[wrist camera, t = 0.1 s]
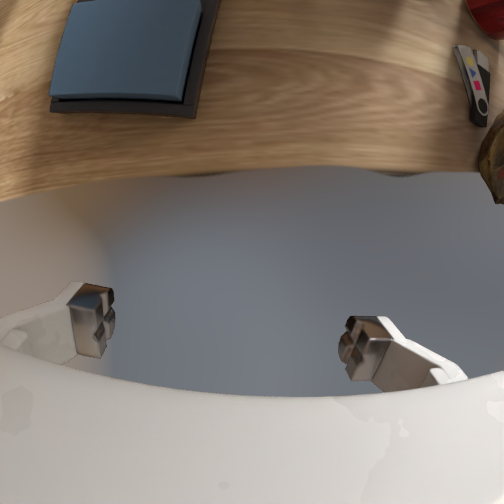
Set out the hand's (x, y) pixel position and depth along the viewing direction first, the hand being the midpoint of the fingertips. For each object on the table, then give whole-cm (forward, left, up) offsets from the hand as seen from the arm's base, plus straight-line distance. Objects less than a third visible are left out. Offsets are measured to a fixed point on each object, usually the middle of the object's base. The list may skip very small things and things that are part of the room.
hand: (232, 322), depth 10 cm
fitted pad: (-12, -9, -14) cm, 21 cm away
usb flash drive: (-18, +21, -15) cm, 31 cm away
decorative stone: (-16, +31, -11) cm, 37 cm away
